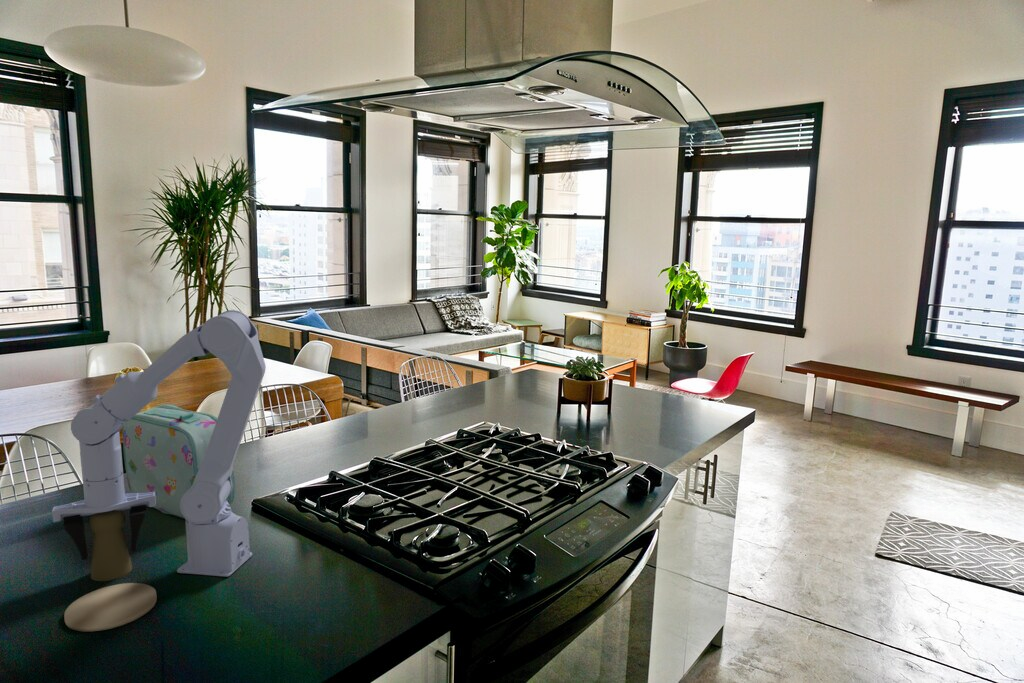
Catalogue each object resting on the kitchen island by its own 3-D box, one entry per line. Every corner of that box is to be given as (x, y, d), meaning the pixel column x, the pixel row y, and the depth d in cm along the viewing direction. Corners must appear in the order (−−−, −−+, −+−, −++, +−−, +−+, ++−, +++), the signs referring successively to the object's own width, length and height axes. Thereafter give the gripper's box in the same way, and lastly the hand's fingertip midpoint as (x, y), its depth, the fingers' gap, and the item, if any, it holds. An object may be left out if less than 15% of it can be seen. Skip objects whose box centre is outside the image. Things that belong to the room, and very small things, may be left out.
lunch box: (246, 511, 136) (241, 410, 133) (202, 530, 127) (195, 422, 124) (167, 486, 149) (160, 394, 146) (121, 502, 140) (113, 404, 137)
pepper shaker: (124, 559, 115) (118, 500, 114) (138, 571, 112) (133, 509, 110) (85, 572, 111) (79, 511, 109) (98, 585, 107) (92, 521, 105)
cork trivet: (173, 590, 106) (173, 586, 105) (120, 634, 94) (119, 629, 94) (105, 584, 107) (104, 580, 107) (44, 627, 95) (43, 622, 95)
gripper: (153, 461, 115) (159, 534, 118) (53, 474, 109) (61, 551, 111) (152, 474, 109) (158, 551, 111) (47, 489, 103) (55, 570, 105)
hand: (110, 552), depth 111 cm, fingers open, 6 cm apart
